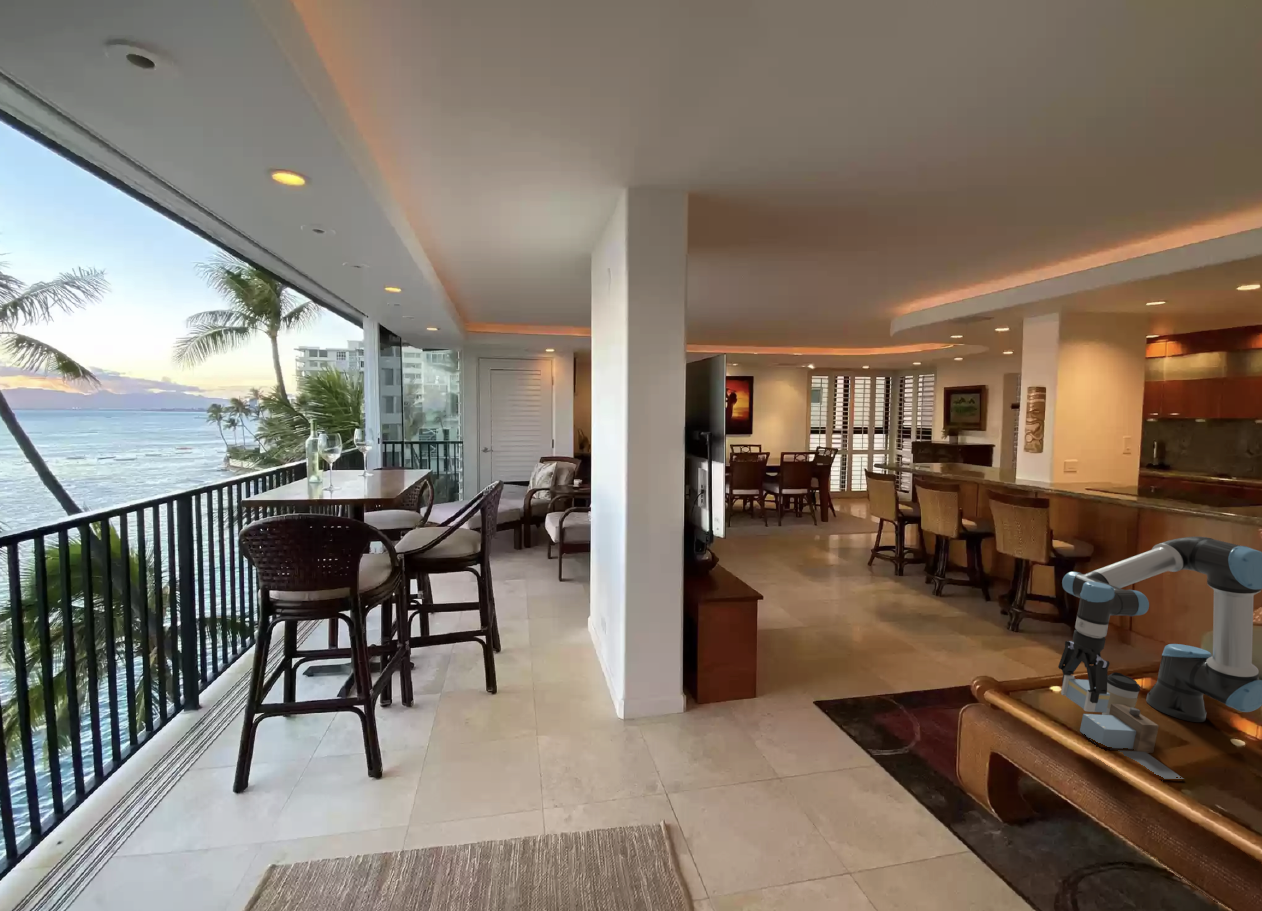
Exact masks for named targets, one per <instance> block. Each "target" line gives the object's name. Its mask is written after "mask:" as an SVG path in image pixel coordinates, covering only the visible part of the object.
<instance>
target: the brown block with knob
mask: <svg viewBox="0 0 1262 911" xmlns="http://www.w3.org/2000/svg"><path fill="white" fill-rule="evenodd" d="M1109 715H1114V716H1115V717H1117V718H1118V719H1120V720H1121V721H1122V722H1124V723H1125V724H1127V725H1128V726H1130V727H1131V728H1133V729H1134V730H1136V735H1135V740H1134V745H1133V749H1134V750H1133V749H1132V750H1133V751H1140V752H1146V753H1148V754H1149V753H1150V754H1154V751H1155V745H1156V741H1157V735H1158V731H1159V727H1160V725H1159V724H1157V723H1156V722H1154V721H1153V720H1151V719H1149V718H1148V717H1146V716H1144V715H1143V714H1141V710H1140V709H1139V708H1136V707H1135V708H1132V707H1131V708H1130V707H1129V706H1127V705H1121V704H1111V707H1110V712H1109Z"/></svg>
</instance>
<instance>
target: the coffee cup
mask: <svg viewBox="0 0 1262 911" xmlns="http://www.w3.org/2000/svg"><path fill="white" fill-rule="evenodd" d="M1107 692H1108V693H1109V694H1110V697H1109V701H1108V706H1107V710H1106V712H1101V715H1109V712H1110V707H1111V704H1121V705H1127V706H1129V707H1130V708H1131V707H1132V708H1136V704H1137V701H1138V699H1139V696H1138V695H1139V693H1140V692H1141V685H1140V684H1139V683H1138V682H1137V681H1136V680H1135V679H1134V678H1131V677H1130V676H1128V675H1127V676H1126V675H1124V674H1122V673H1120V672H1116V671H1115V672H1112V673H1110V674H1107Z"/></svg>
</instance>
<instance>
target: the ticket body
mask: <svg viewBox="0 0 1262 911" xmlns="http://www.w3.org/2000/svg"><path fill="white" fill-rule="evenodd" d="M1079 732H1080V733H1081V734H1083V735H1084V734H1085V735H1086V736H1085V735H1084V736H1085V737H1087V738H1088V739H1089V738H1091V739H1093V740H1095V741H1096V742H1098V743H1101V744H1103V745H1105V746H1107V747H1112V748H1111V749H1123V748H1128V750H1133V745H1134V740H1135V735H1136V730H1134V729H1133V728H1131V727H1130V726H1128V725H1127V724H1125V723H1124V722H1122V721H1121V720H1120V719H1118V718H1117V717H1115V716H1114V715H1102V714H1095V713H1094V714H1093V713H1082V719H1081V724H1080V728H1079ZM1091 739H1090V740H1091Z"/></svg>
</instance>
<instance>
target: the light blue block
mask: <svg viewBox="0 0 1262 911" xmlns="http://www.w3.org/2000/svg"><path fill="white" fill-rule="evenodd" d="M1095 688H1096V687H1095ZM1087 690H1090V686H1089V680H1088V679H1079V678H1077V679H1076V678H1074V679H1069V683H1068V689H1067V694H1066V695H1065V697H1066V698H1067V699H1069V700H1070V701H1072V702H1073V703H1075V704H1076V705H1077V706H1079V707H1080V708H1081V709H1083V710H1084V705H1085V700H1086V695H1087ZM1109 697H1110V694H1109V693H1108V692H1107V694H1099V699H1098V702H1097V703H1096V706H1095V711H1094V712H1093V713H1102V712H1106V710H1107V706H1108V701H1109Z"/></svg>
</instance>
